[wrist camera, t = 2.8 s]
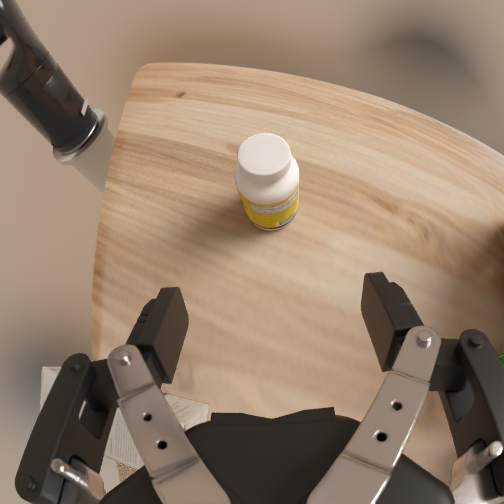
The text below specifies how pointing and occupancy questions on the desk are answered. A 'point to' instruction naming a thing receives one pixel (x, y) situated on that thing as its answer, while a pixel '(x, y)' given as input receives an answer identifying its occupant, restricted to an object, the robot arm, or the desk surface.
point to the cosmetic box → (120, 438)
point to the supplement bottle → (267, 181)
